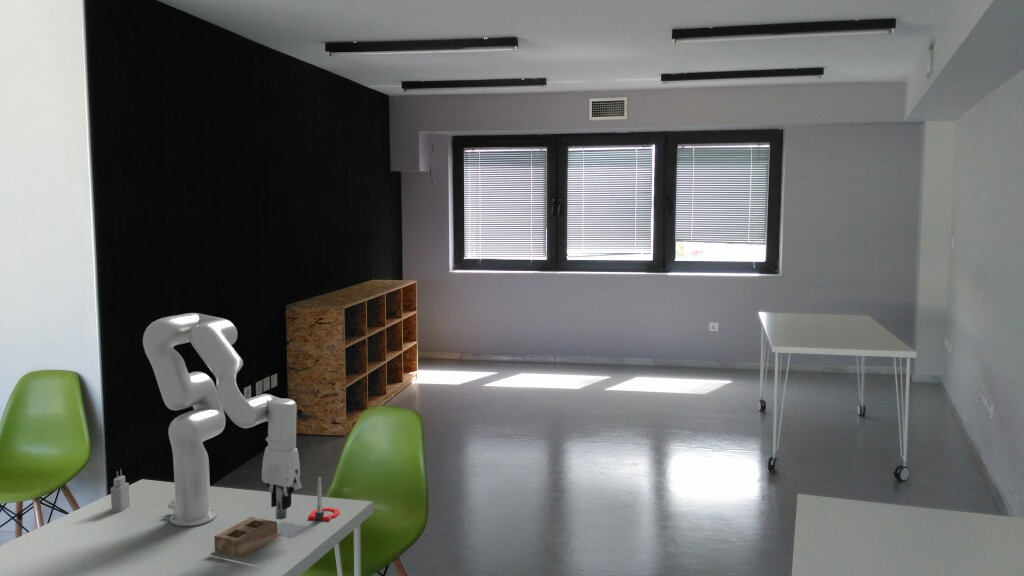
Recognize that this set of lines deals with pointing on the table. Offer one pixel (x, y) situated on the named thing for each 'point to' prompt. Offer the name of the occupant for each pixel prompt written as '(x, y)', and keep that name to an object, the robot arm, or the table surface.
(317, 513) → the tow hook
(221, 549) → the block
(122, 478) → the power adapter
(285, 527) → the mat
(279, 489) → the pin
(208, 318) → the robot arm
